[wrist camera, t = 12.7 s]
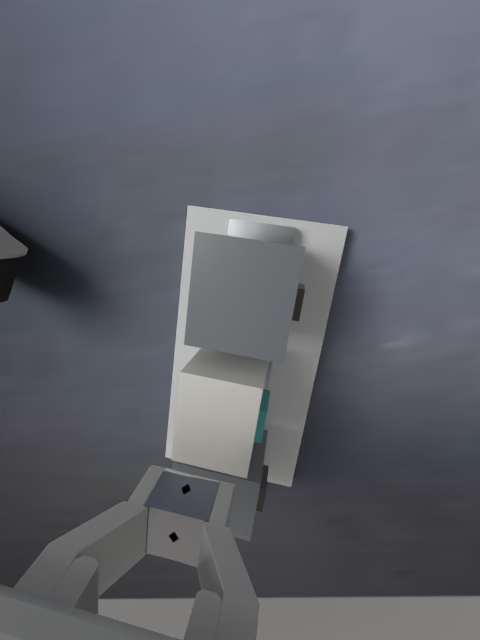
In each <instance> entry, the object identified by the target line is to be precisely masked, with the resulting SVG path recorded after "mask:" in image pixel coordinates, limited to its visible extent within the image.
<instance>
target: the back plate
mask: <svg viewBox="0 0 480 640" xmlns="http://www.w3.org/2000/svg"><path fill="white" fill-rule="evenodd" d="M230 219H237V220H244V221H252V222H259V223H266V224H274V225H281V226H288V227H295V228H296V234H295V240H294V245H296V246H303V247H305V252H304V258H303V263H302V268H301V274H300V279H299V284H304V287H305V293H304V298H303V303H302V309H301V314H300V319H299V321H294V320H292V321H291V327H290V332H289V337H288V343H287V348H286V353H285V359H284V364H282V363H277V362H273V363H272V369H271V374H270V380H269V385H268V390H270V397H269V403H268V410H267V416H266V421H265V427H264V429H265V430H268V433H267V441H266V449H265V456H264V464H263V465H267V466H269V468H268V477H267V482H272V483H276V484H280V485H284V486H288V487H291V485H292V480H293V476H294V471H295V467H296V462H297V458H298V453H299V448H300V444H301V439H302V435H303V430H304V426H305V421H306V417H307V412H308V407H309V403H310V398H311V394H312V389H313V385H314V380H315V376H316V371H317V366H318V362H319V357H320V353H321V348H322V344H323V339H324V335H325V330H326V325H327V321H328V316H329V312H330V307H331V303H332V298H333V294H334V289H335V284H336V280H337V275H338V271H339V266H340V262H341V257H342V253H343V248H344V243H345V239H346V234H347V230H348V227H346V226H339V225H331V224H324V223H316V222H309V221H301V220H294V219H286V218H279V217H272V216H264V215H257V214H249V213H242V212H234V211H227V210H219V209H212V208H204V207H197V206H189V205H188V210H187V221H186V232H185V244H184V255H183V266H182V277H181V288H180V299H179V310H178V322H177V333H176V344H175V355H174V366H173V377H172V388H171V400H170V411H169V422H168V433H167V444H166V455H165V457H167V458H171V456H172V446H173V436H174V426H175V416H176V407H177V397H178V387H179V377H180V371H181V370H182V369H183V368H184V367H185V366H186V364H187V363H188V362H189V361H190V360H191V359H192V358H193V356H194V355H195V354H196V353H197V352H198V351H199V350H200V349H201V348H198V347H193V346H188V345H184V338H185V328H186V318H187V308H188V297H189V287H190V277H191V266H192V256H193V246H194V235H195V231H197V232H205V233H212V234H219V235H226V236H228V229H229V221H230Z"/></svg>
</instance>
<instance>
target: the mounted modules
mask: <svg viewBox="0 0 480 640" xmlns="http://www.w3.org/2000/svg"><path fill="white" fill-rule="evenodd" d="M304 252H305V247H303V246H296V245H289V244H282V243H275V242H268V241H261V240H254V239H247V238H240V237H233V236H226V235H219V234H212V233H205V232H197V231H195V235H194V246H193V256H192V266H191V277H190V287H189V297H188V308H187V318H186V328H185V338H184V345H188V346H193V347H198V348H204V349H209V350H214V351H219V352H224V353H230V354H235V355H240V356H245V357H251V358H256V359H261V360H266V361H271V362H277V363H282V364H284V359H285V353H286V348H287V343H288V337H289V332H290V327H291V321H292V320H294V321H299V319H300V314H301V309H302V303H303V298H304V293H305V287H304V284H299V279H300V274H301V268H302V263H303V258H304ZM267 433H268V430H265V429H264V432H263V437H262V443H257V442H254V444H253V449H252V455H251V460H250V465H249V470H248V475H247V479H246V478H242V477H238V476H234V475H230V474H226V473H222V472H218V471H213V470H209V469H205V468H201V467H197V466H193V465H189V464H185V463H181V462H177V461H173V462H172V470H175V471H179V472H183V473H187V474H190V475H195V476H200V477H204V478H209V479H213V480H217V481H222V482H227V483H231V484H235V492H234V499H233V505H232V511H231V517H230V523H229V528H230V529H231V532H232V534H233V537H236V538H239V539H243V540H247V541H250V539H251V534H252V528H253V523H254V518H255V512H256V510H257V511H261V512H262V509H263V504H264V498H265V493H266V487H267V477H268V468H269V466H267V465H263V464H264V456H265V449H266V441H267Z"/></svg>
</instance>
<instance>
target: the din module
mask: <svg viewBox="0 0 480 640" xmlns="http://www.w3.org/2000/svg"><path fill="white" fill-rule="evenodd" d="M268 363H269V361H266V360H261V359H256V358H251V357H245V356H240V355H235V354H230V353H224V352H219V351H214V350H209V349H204V348H201V349H200V350H199V351H198V352H197V353H196V354H195V355H194V356H193V358H192V359H191V360H190V361H189V362H188V363H187V364H186V366H185V367H184V368H183V369H182V370H181V371H180V377H179V387H178V397H177V407H176V416H175V426H174V436H173V446H172V456H171V460H173V461H177V462H181V463H185V464H189V465H193V466H197V467H201V468H205V469H209V470H213V471H218V472H222V473H226V474H230V475H234V476H238V477H242V478H246V479H247V475H248V470H249V465H250V460H251V455H252V449H253V444H254V442H257V443H262V437H263V432H264V427H265V421H266V416H267V410H268V403H269V397H270V390H265V389H264V385H265V380H266V374H267V369H268Z"/></svg>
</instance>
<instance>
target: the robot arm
mask: <svg viewBox="0 0 480 640" xmlns="http://www.w3.org/2000/svg"><path fill="white" fill-rule="evenodd" d="M234 492H235V484H231V483H227V482H222V481H217V480H213V479H209V478H204V477H200V476H195V475H190V474H187V473H183V472H179V471H175V470H172V469H168V468H163V467H159V466H155V465H151V466H150V467H149V468H148V470H147V471H146V473H145V475H144V476H143V478H142V479H141V481H140V483H139V484H138V486H137V487H136V489H135V491H134V492H133V494H132V495H131V497H130V499H129V500H128V502H125V501H122V502H121V503H119V504H117V505H115V506H114V507H112V508H110V509H108V510H107V511H105V512H103V513H101V514H100V515H98V516H96V517H94V518H93V519H91V520H89V521H87V522H86V523H84V524H82V525H80V526H79V527H77V528H75V529H74V530H72V531H70V532H68V533H67V534H65V535H63V536H61V537H60V538H58V539H56V540H54V541H53V542H51V543H49V544H48V545H47V546H46V548H45V549H44V550H43V551H42V553H41V554H40V555H39V557H38V558H37V559H36V560H35V562H34V563H33V564H32V565H31V567H30V568H29V569H28V570H27V572H26V573H25V574H24V575H23V577H22V578H21V579H20V580H19V582H18V583H17V584H16V585H15V587H14V588H10V587H7V586H3V585H0V640H180V639H177V638H173V637H170V636H167V635H163V634H160V633H157V632H153V631H150V630H147V629H144V628H140V627H137V626H134V625H131V624H127V623H124V622H121V621H118V620H114V619H111V618H108V617H104V616H101V615H98V597H99V596H100V595H101V594H102V593H103V592H104V591H105V590H107V589H108V588H109V587H110V586H111V585H112V584H113V583H114V582H116V581H117V580H118V579H119V578H120V577H121V576H122V575H123V574H125V573H126V572H127V571H128V570H129V569H130V568H131V567H132V566H134V565H135V564H136V563H137V562H138V561H139V560H140V559H141V558H142V557H144V556H145V553H147V554H151V555H156V556H160V557H164V558H168V559H172V560H175V561H179V562H182V563H185V564H188V565H191V566H195V567H197V570H198V575H199V580H200V585H201V591H199V592H198V593H197V594H196V598H195V601H194V605H193V608H192V612H191V615H190V619H189V622H188V626H187V630H186V633H185V637H184V640H256V634H257V623H258V611H259V602H258V599H257V597H256V594H255V592H254V589H253V586H252V584H251V581H250V579H249V576H248V573H247V571H246V568H245V566H244V563H243V560H242V558H241V555H240V553H239V550H238V547H237V545H236V542H235V540H234V537H233V534H232V532H231V529H230V528H229V523H230V517H231V511H232V505H233V499H234Z"/></svg>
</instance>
